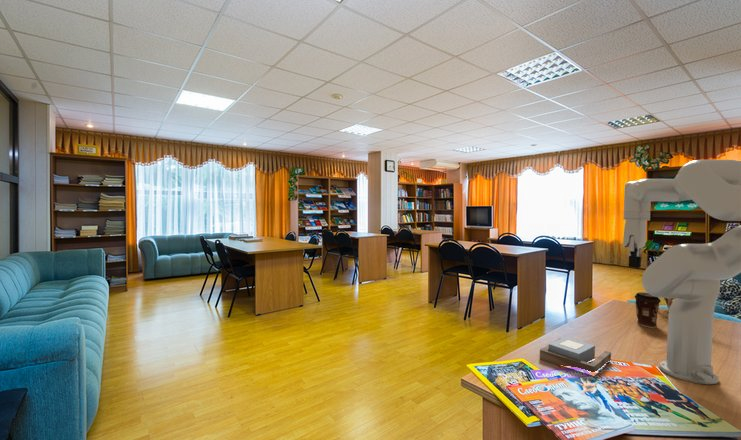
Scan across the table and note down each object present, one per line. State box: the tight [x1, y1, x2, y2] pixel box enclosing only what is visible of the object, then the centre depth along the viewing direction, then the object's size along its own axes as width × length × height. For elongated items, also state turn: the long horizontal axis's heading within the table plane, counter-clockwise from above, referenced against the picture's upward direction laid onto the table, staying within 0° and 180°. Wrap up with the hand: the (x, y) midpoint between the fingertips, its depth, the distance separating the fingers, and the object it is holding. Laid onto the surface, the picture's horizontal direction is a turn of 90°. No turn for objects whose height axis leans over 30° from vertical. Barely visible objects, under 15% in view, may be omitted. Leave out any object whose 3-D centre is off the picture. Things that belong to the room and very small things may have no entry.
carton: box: [548, 336, 596, 362], centre depth 109 cm, size 11×9×5 cm
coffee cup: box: [634, 291, 661, 329], centre depth 143 cm, size 9×8×13 cm
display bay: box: [539, 337, 612, 372], centre depth 108 cm, size 16×15×3 cm
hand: (634, 267), depth 123 cm, fingers closed
